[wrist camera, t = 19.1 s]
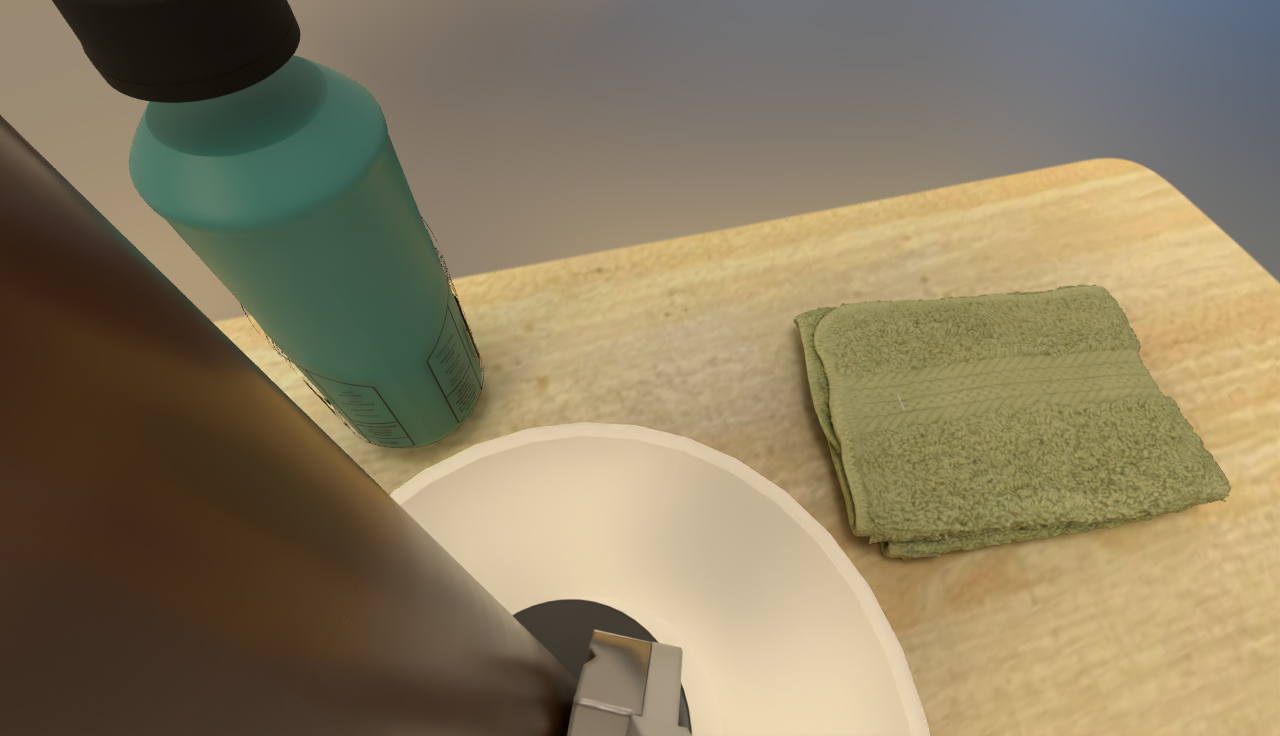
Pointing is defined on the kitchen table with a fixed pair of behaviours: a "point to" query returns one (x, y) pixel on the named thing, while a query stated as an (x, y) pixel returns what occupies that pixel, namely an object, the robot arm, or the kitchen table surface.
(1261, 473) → the kitchen table surface
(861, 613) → the bowl
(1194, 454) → the washcloth
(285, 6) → the beverage bottle
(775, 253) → the kitchen table surface
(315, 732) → the paper towel holder
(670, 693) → the robot arm
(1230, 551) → the kitchen table surface
